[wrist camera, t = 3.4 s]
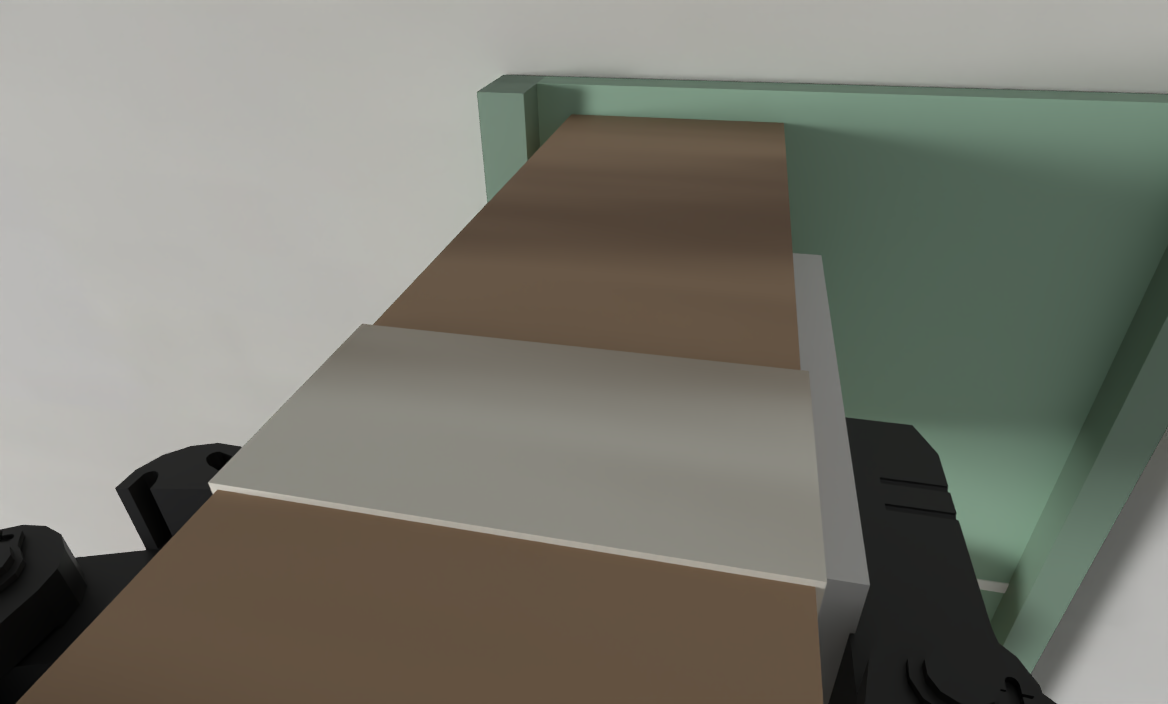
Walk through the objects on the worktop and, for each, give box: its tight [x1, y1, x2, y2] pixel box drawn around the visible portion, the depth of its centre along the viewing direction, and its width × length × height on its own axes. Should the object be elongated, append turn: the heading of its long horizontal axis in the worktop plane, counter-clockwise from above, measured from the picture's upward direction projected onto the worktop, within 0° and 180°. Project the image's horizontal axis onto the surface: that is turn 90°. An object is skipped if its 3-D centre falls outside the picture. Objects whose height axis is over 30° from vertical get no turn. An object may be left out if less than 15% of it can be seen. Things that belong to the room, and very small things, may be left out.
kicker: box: [16, 114, 827, 704], centre depth 8 cm, size 6×4×12 cm, turn 1°
